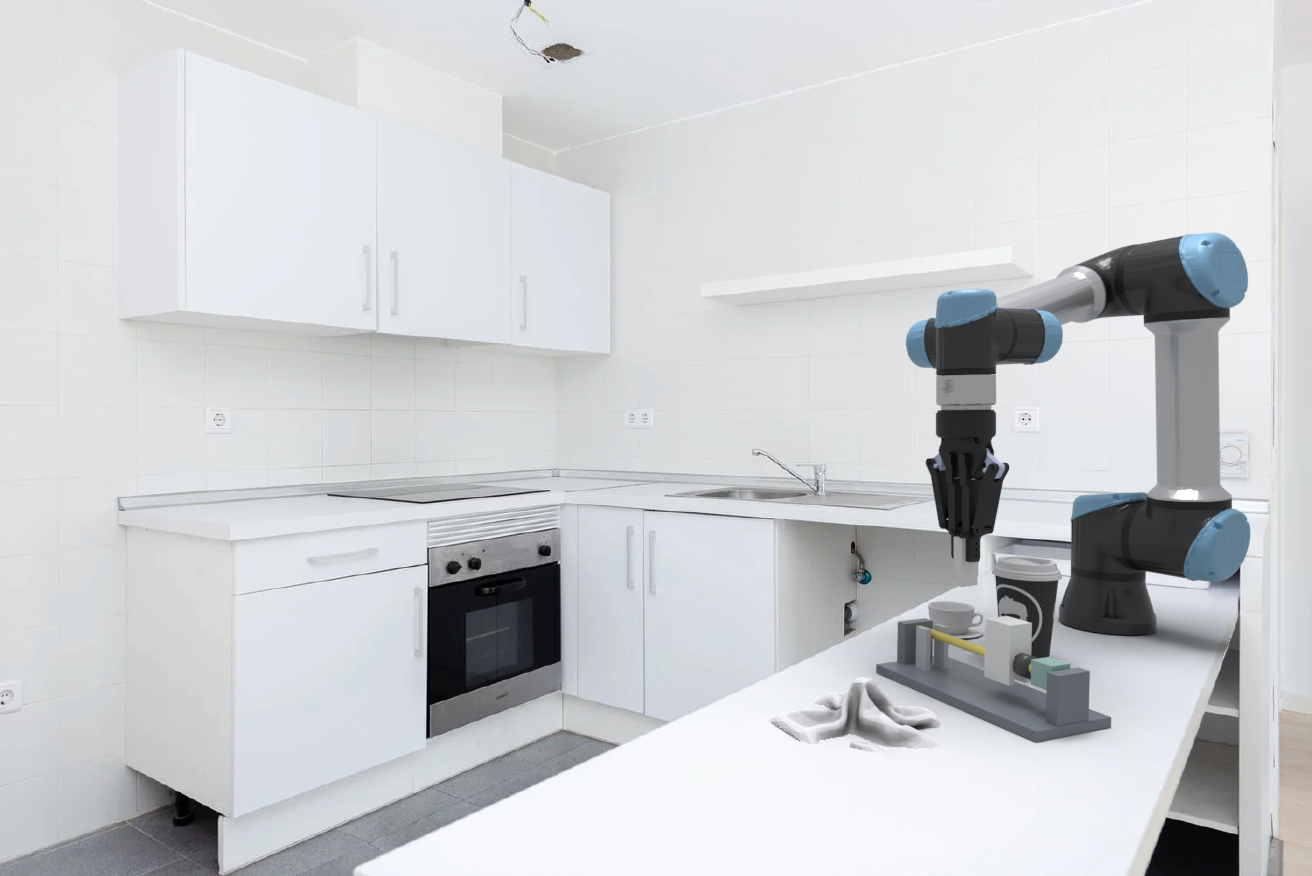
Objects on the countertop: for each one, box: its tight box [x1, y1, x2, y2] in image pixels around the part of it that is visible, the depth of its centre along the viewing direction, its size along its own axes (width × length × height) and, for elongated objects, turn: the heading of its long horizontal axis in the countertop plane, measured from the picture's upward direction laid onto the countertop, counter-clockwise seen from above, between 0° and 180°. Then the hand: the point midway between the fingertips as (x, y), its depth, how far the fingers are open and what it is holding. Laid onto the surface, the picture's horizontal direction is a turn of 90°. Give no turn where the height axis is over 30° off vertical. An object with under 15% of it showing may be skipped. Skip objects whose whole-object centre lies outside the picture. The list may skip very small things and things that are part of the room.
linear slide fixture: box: [875, 618, 1112, 743], centre depth 112 cm, size 28×12×8 cm, turn 24°
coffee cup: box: [991, 555, 1063, 659], centre depth 128 cm, size 10×10×15 cm
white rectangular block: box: [983, 616, 1032, 686], centre depth 108 cm, size 4×4×7 cm
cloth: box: [769, 676, 942, 754], centre depth 101 cm, size 22×19×6 cm
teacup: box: [927, 600, 984, 639], centre depth 146 cm, size 10×10×5 cm
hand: (965, 584), depth 116 cm, fingers closed
